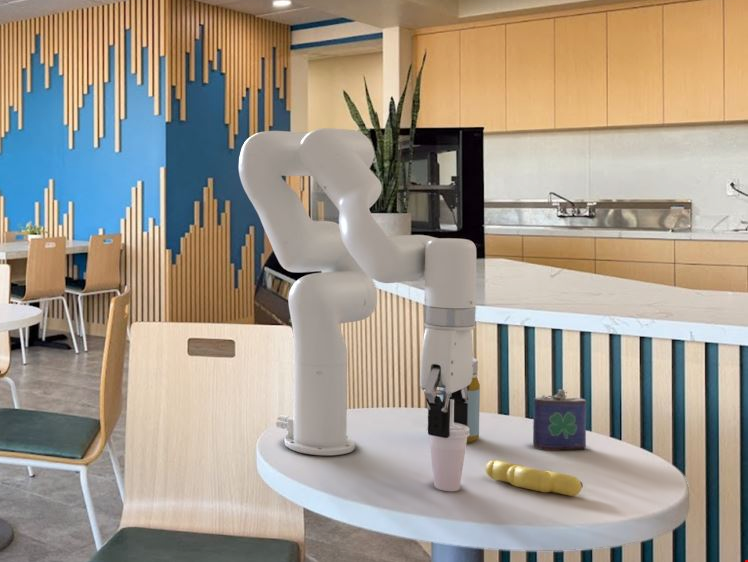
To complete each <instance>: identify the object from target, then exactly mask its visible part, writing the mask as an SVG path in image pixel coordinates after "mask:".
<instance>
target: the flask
mask: <svg viewBox="0 0 748 562" xmlns="http://www.w3.org/2000/svg"><path fill="white" fill-rule="evenodd" d="M557 391H558V392H557V393H556V394H554V395H548V396H545V394H542V396H538V397H535V398H533V410H532V411H533V415H532V416H533V421H532V422H533V423H532V424H533V426H532V430H533V431H532V432H533V434H532V436H533V437H532V445H533V446H532V447H533V448H534V449H538V450H551V451H562V450H565V451H574V450H575V451H576V450H577V451H581V450H586V447H587V400H586V399H584V398H582V397H567V395H566V394H567V393H568V391H565V390H564V389H561V388H559V389H557Z"/></svg>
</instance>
